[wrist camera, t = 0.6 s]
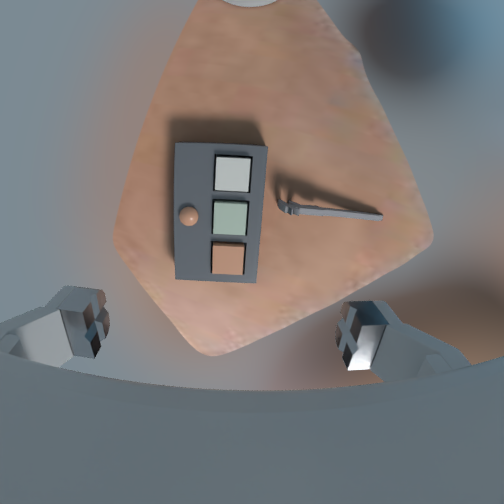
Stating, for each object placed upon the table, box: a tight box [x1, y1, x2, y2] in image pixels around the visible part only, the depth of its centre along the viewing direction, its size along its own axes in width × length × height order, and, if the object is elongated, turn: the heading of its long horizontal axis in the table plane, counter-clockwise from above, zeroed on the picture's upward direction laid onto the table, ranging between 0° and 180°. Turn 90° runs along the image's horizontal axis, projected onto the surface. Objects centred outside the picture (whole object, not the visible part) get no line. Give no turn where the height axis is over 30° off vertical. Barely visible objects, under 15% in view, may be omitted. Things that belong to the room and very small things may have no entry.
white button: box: [215, 156, 251, 192], centre depth 45 cm, size 5×5×3 cm
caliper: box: [277, 199, 383, 221], centre depth 50 cm, size 20×1×6 cm, turn 83°
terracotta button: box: [212, 241, 244, 275], centre depth 51 cm, size 5×5×3 cm
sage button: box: [213, 199, 247, 235], centre depth 48 cm, size 5×5×3 cm
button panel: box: [174, 142, 268, 283], centre depth 49 cm, size 23×14×5 cm, turn 176°
